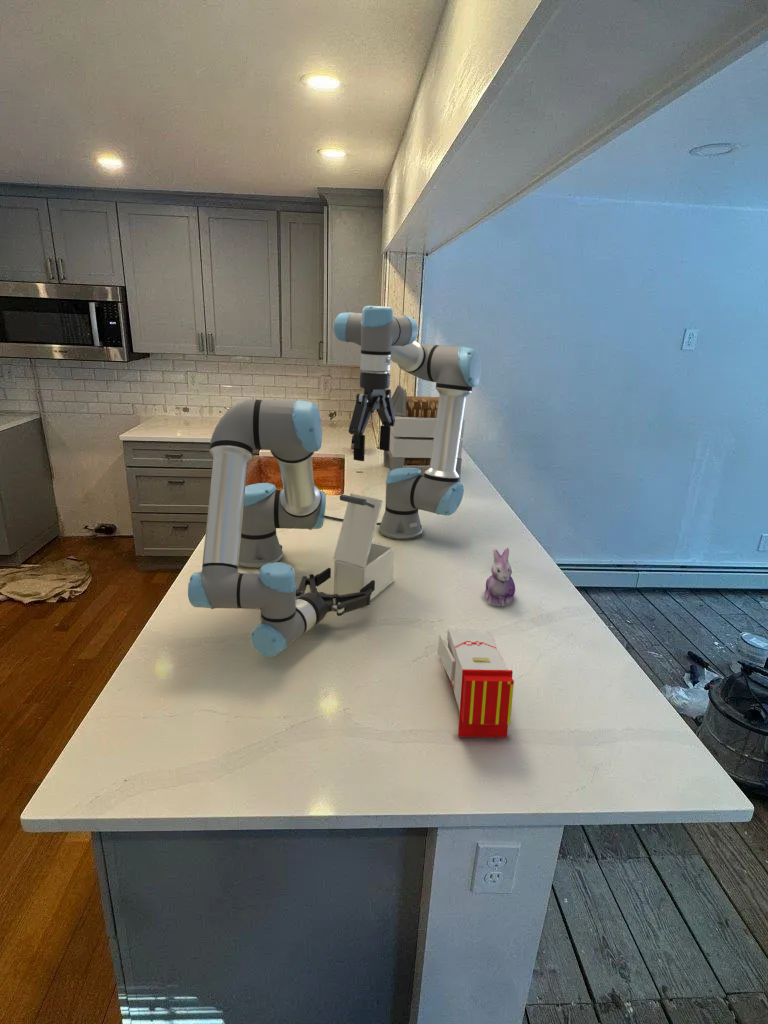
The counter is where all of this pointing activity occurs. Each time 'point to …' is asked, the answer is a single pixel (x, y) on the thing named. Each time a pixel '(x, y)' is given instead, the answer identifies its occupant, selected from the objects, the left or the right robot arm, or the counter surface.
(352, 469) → the counter surface
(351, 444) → the figurine character
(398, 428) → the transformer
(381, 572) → the chest
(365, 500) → the lid
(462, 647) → the toy
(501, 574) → the figurine
